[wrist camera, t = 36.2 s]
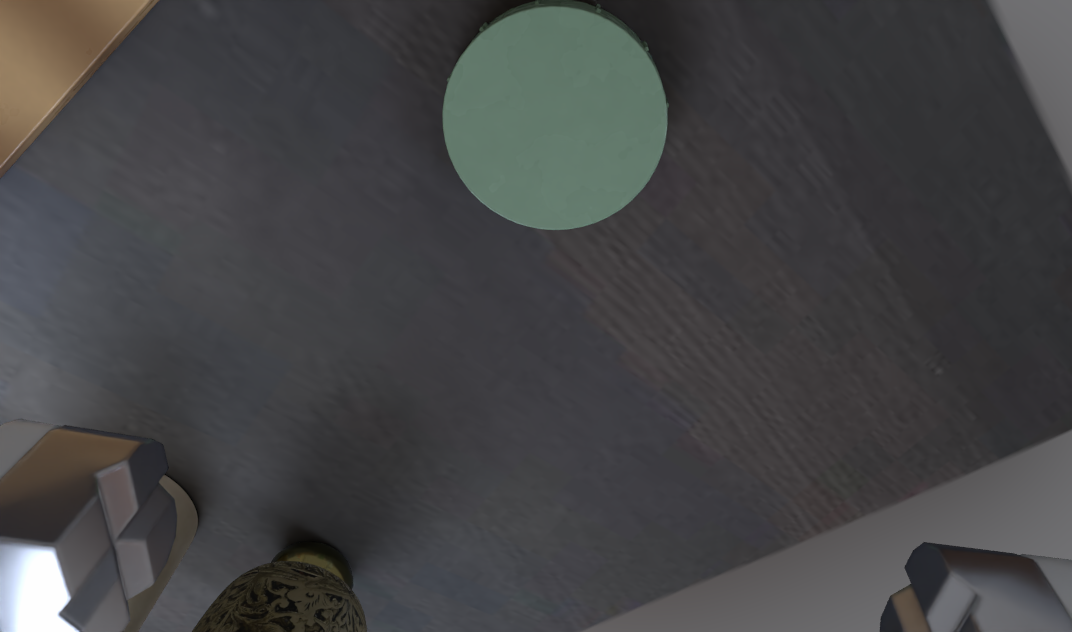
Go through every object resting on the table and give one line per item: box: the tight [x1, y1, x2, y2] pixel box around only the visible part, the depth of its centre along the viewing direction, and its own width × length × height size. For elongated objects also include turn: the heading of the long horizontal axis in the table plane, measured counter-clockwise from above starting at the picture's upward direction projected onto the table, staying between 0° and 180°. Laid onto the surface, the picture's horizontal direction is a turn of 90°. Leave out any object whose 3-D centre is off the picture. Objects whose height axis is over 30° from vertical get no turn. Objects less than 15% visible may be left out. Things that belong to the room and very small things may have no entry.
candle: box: [123, 475, 198, 632], centre depth 29 cm, size 6×6×10 cm
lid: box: [442, 0, 669, 230], centre depth 23 cm, size 7×6×2 cm
